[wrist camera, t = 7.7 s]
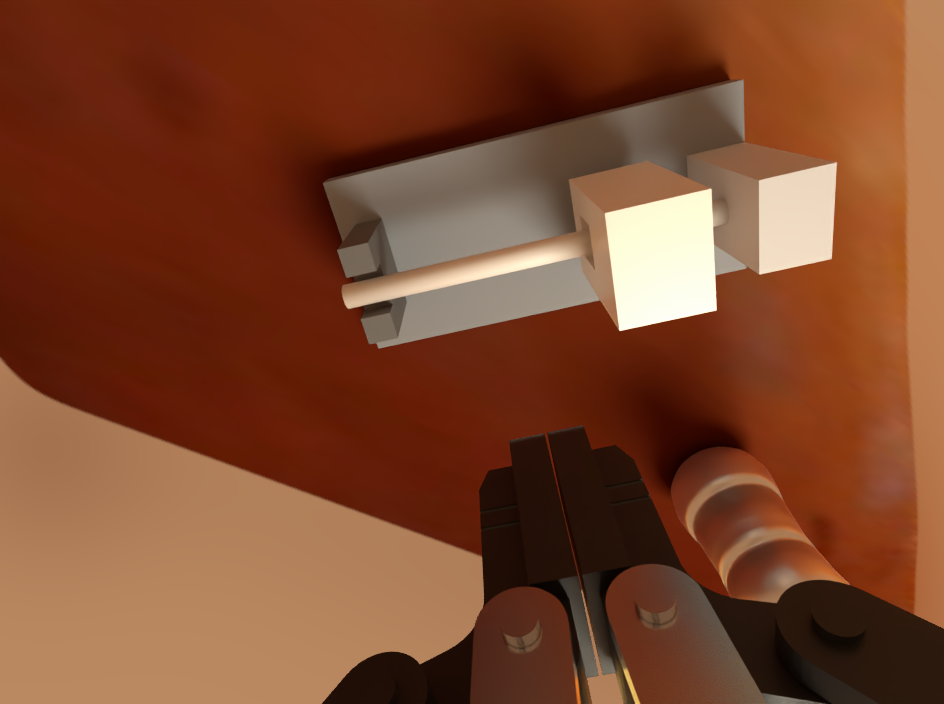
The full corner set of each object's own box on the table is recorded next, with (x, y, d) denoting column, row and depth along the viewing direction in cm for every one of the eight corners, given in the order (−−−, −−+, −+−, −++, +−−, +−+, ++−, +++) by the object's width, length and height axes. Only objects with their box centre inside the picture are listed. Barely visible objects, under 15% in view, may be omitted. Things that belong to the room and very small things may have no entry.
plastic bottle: (643, 477, 41) (787, 794, 23) (717, 416, 38) (942, 714, 20) (700, 521, 42) (874, 845, 24) (773, 466, 40) (1025, 777, 22)
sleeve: (568, 179, 28) (604, 213, 21) (647, 160, 28) (711, 188, 21) (582, 271, 31) (619, 330, 23) (655, 255, 30) (716, 310, 23)
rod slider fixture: (328, 178, 31) (278, 215, 23) (730, 79, 29) (841, 79, 21) (381, 338, 35) (356, 420, 27) (734, 260, 34) (828, 322, 25)
